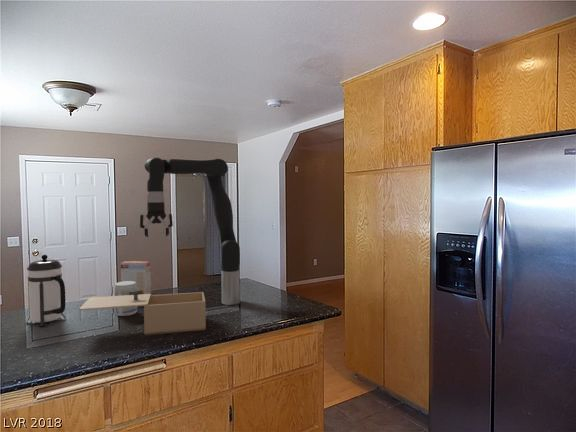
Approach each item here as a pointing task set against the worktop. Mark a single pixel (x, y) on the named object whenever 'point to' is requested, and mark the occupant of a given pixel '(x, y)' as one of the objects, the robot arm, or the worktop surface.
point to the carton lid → (117, 301)
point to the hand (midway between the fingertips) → (157, 236)
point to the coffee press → (45, 291)
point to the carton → (175, 313)
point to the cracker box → (137, 274)
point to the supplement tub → (124, 289)
